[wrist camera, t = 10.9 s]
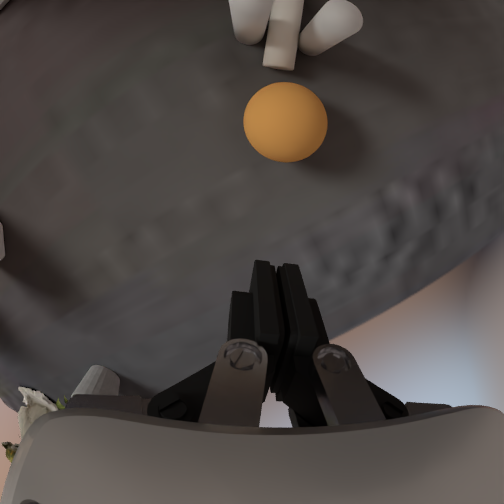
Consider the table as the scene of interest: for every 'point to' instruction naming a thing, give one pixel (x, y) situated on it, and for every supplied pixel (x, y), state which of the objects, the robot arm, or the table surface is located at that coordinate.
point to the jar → (2, 242)
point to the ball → (285, 122)
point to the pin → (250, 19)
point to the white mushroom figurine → (29, 415)
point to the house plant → (96, 383)
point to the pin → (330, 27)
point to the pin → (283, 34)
